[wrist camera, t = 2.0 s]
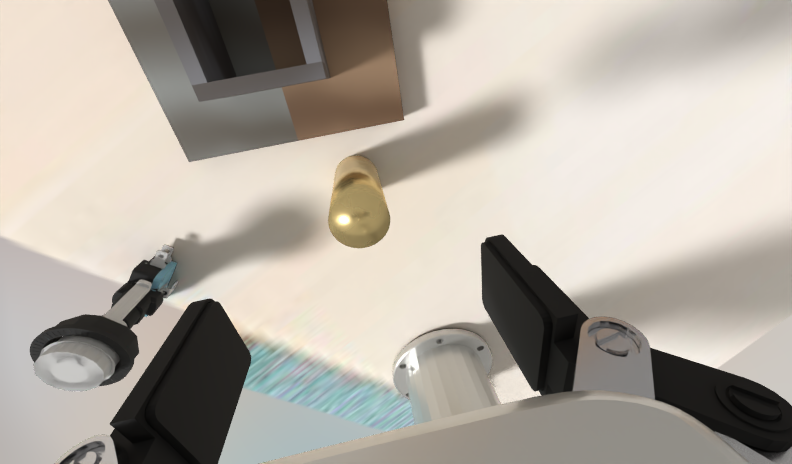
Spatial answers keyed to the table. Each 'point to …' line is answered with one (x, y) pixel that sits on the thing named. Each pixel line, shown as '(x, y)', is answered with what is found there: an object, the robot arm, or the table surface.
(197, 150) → the base with square socket
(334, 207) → the hinge pin
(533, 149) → the table surface
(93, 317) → the push button
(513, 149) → the table surface
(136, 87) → the table surface
